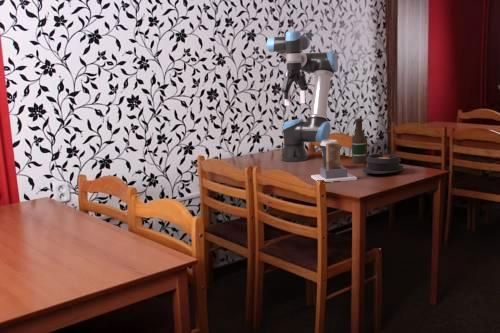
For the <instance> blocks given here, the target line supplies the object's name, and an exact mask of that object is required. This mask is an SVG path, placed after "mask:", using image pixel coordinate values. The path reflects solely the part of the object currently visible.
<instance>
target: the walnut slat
mask: <svg viewBox="0 0 500 333" xmlns="http://www.w3.org/2000/svg"><path fill="white" fill-rule="evenodd" d="M340 166H341V143H340V142H338V143H327V144H326V169H327V170H331V169H340Z"/></svg>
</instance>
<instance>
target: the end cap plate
mask: <svg viewBox="0 0 500 333" xmlns="http://www.w3.org/2000/svg"><path fill="white" fill-rule="evenodd" d="M310 177H311V179H313V180H314V181H316V182H318V181H317V180H324V181H325V182H331V183H334V182H333V181H341V182H347V181H348V182H349V181H357V180H358V177H357V176H355V175H353V174H350V173H349V172H348V168H347V167H345V166H343V165H340V169H331V170H327V169H326V167H324V166H322V167H319V174H312V175H310Z"/></svg>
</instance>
